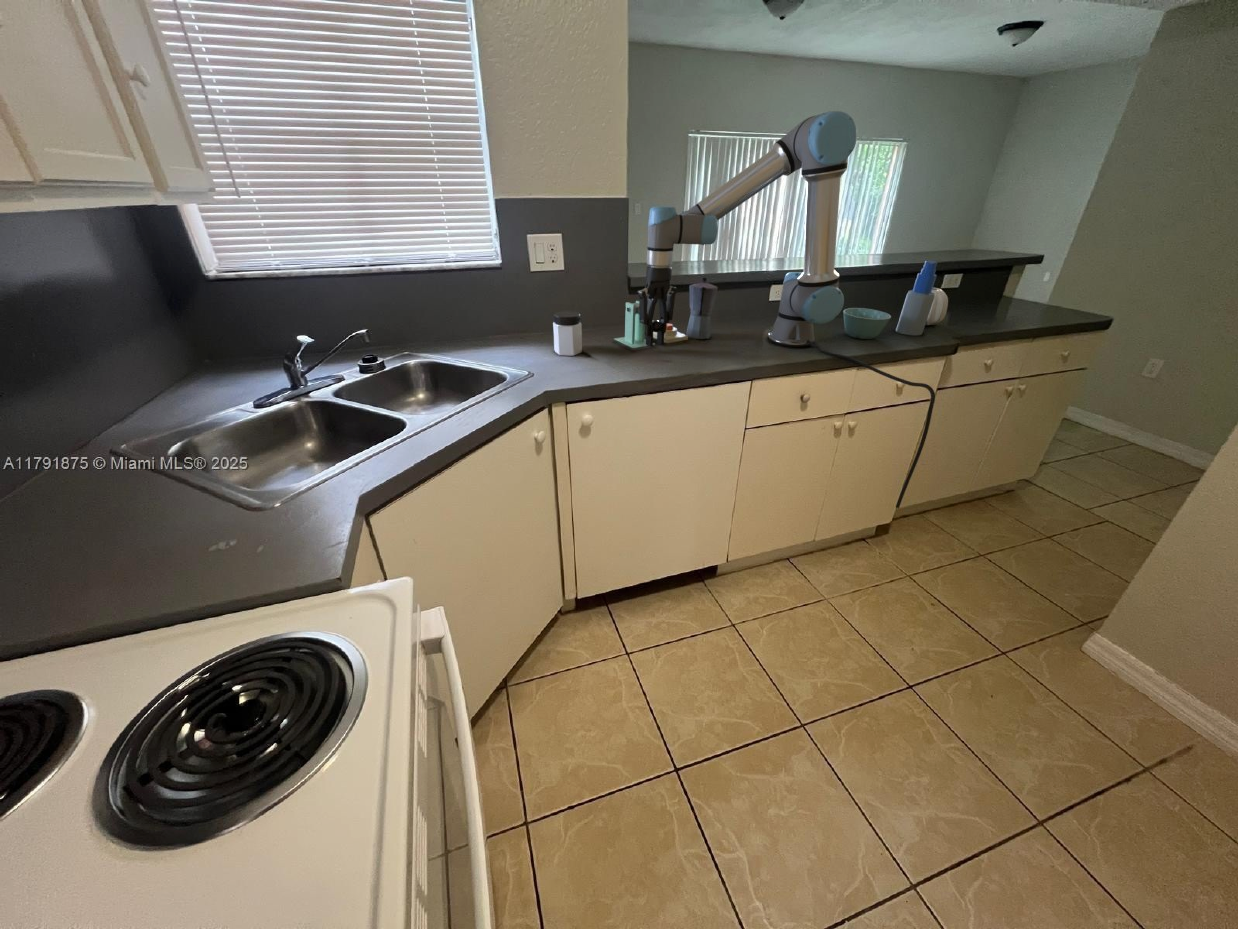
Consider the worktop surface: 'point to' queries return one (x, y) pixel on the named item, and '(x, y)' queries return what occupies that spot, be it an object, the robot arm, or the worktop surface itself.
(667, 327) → the button
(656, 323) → the lever
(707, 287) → the moka pot
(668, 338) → the button block
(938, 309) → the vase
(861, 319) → the bowl
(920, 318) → the spray bottle
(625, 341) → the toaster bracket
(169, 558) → the worktop surface
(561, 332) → the jar
